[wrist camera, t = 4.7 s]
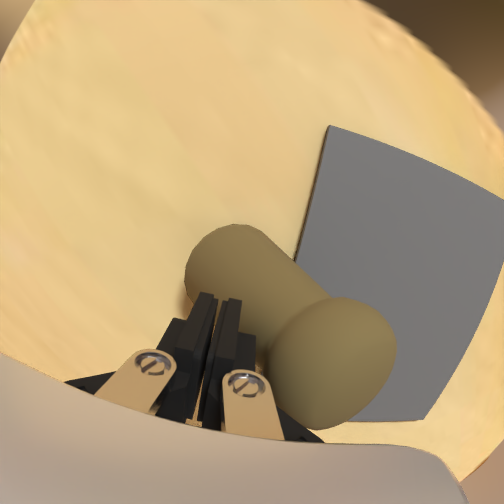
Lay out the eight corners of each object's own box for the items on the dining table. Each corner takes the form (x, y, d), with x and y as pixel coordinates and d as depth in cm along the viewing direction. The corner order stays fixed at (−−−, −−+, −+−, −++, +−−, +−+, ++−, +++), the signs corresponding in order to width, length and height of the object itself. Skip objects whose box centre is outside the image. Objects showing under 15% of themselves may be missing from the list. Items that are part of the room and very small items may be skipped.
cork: (259, 319, 20) (370, 430, 11) (173, 312, 17) (260, 469, 8) (288, 235, 19) (438, 315, 10) (200, 213, 16) (344, 313, 7)
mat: (421, 415, 23) (423, 419, 23) (250, 406, 23) (250, 411, 22) (513, 207, 17) (517, 208, 17) (327, 126, 17) (329, 125, 16)
